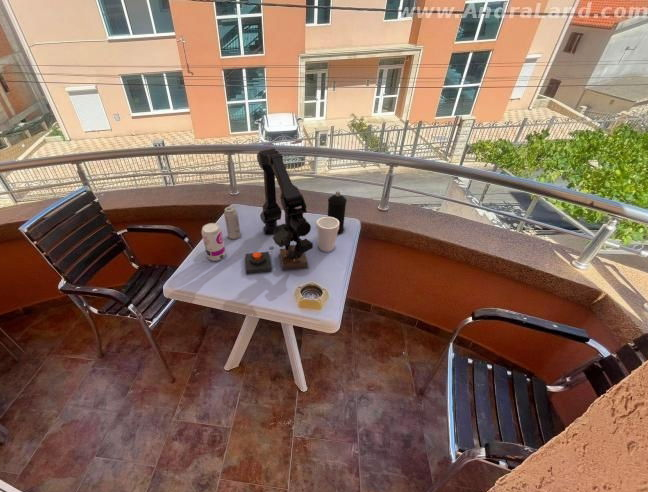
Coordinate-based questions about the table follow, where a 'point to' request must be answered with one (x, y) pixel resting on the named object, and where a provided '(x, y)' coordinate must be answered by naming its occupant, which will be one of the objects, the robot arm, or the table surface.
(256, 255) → the power button
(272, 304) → the table surface
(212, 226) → the supplement can
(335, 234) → the foam cup
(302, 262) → the dial panel
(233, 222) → the energy drink can
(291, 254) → the dial
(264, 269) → the push button box
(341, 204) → the aerosol can
